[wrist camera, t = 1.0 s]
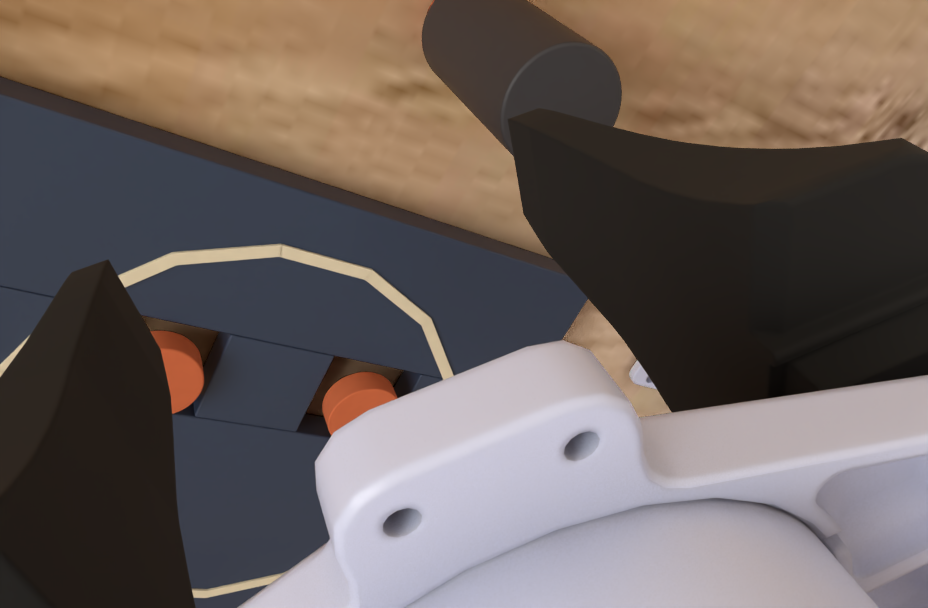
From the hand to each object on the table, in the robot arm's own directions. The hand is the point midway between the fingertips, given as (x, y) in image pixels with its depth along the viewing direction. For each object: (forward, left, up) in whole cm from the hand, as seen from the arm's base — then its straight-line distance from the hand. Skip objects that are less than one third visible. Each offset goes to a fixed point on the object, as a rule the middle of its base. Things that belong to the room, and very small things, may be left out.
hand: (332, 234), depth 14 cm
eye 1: (-1, +10, -10) cm, 14 cm away
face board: (-4, +12, -10) cm, 16 cm away
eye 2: (-8, +10, -9) cm, 16 cm away
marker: (-5, -3, -10) cm, 12 cm away
